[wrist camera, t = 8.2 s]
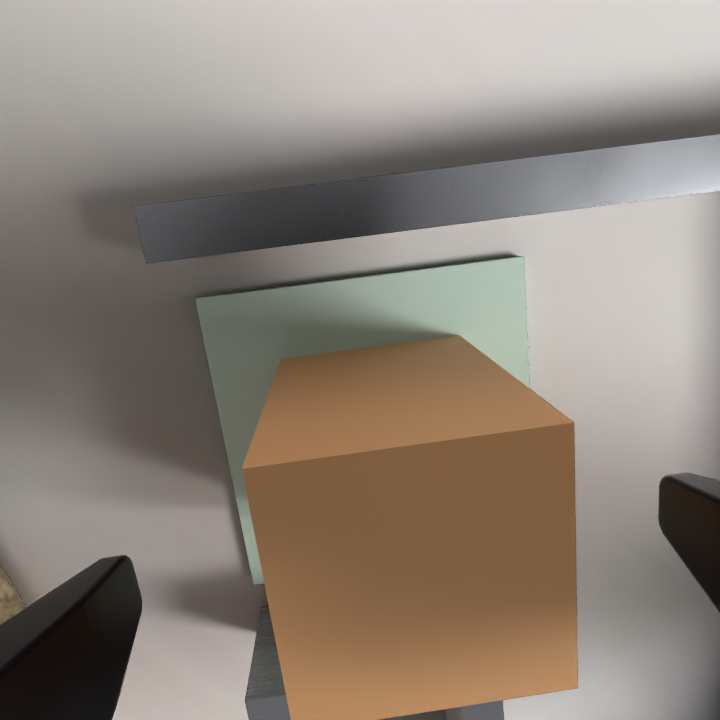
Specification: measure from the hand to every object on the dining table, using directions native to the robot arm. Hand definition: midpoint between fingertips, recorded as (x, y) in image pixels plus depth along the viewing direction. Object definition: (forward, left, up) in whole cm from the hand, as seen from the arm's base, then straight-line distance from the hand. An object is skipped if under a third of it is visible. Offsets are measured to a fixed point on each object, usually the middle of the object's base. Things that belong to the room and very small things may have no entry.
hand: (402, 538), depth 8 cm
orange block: (0, 0, -5) cm, 5 cm away
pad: (0, 0, -5) cm, 5 cm away
